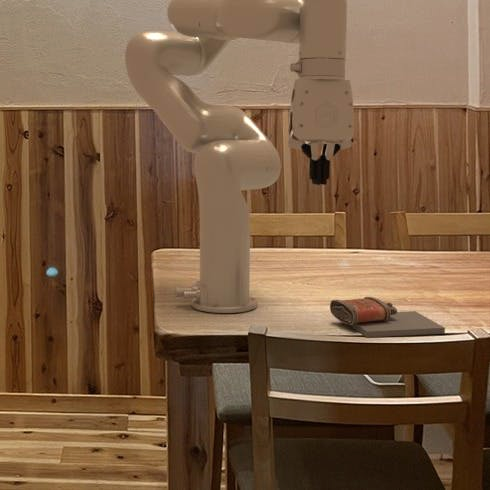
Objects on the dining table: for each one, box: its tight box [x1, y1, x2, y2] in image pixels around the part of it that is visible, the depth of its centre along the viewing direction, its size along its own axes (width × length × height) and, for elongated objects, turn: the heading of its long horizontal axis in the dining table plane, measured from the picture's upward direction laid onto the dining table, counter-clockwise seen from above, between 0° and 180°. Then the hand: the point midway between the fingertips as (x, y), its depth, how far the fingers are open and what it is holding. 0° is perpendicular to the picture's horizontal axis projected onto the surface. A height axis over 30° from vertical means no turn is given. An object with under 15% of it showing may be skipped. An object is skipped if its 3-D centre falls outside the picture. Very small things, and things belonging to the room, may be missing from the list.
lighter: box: [329, 296, 398, 326], centre depth 141 cm, size 8×3×10 cm
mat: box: [350, 310, 446, 338], centre depth 140 cm, size 14×12×1 cm
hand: (319, 183), depth 133 cm, fingers closed
